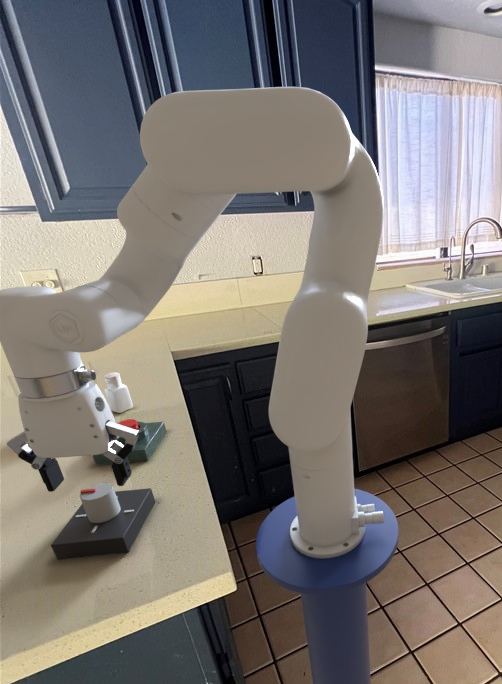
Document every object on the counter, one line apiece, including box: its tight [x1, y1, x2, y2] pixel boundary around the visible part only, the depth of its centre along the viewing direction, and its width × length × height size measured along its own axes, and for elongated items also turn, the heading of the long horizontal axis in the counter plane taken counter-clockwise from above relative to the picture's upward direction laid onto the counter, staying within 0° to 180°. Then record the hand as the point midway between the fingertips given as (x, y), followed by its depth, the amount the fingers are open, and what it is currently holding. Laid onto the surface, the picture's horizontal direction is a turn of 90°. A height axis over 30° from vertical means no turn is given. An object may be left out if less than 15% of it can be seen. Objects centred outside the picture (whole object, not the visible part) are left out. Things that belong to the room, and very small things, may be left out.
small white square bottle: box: [103, 372, 134, 414], centre depth 106 cm, size 4×4×10 cm
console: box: [91, 420, 167, 466], centre depth 91 cm, size 10×12×4 cm
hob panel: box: [50, 487, 156, 561], centre depth 69 cm, size 10×12×3 cm
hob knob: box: [79, 482, 121, 523], centre depth 67 cm, size 4×4×5 cm
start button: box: [116, 418, 139, 430], centre depth 90 cm, size 4×4×2 cm
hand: (91, 483), depth 65 cm, fingers open, 9 cm apart
